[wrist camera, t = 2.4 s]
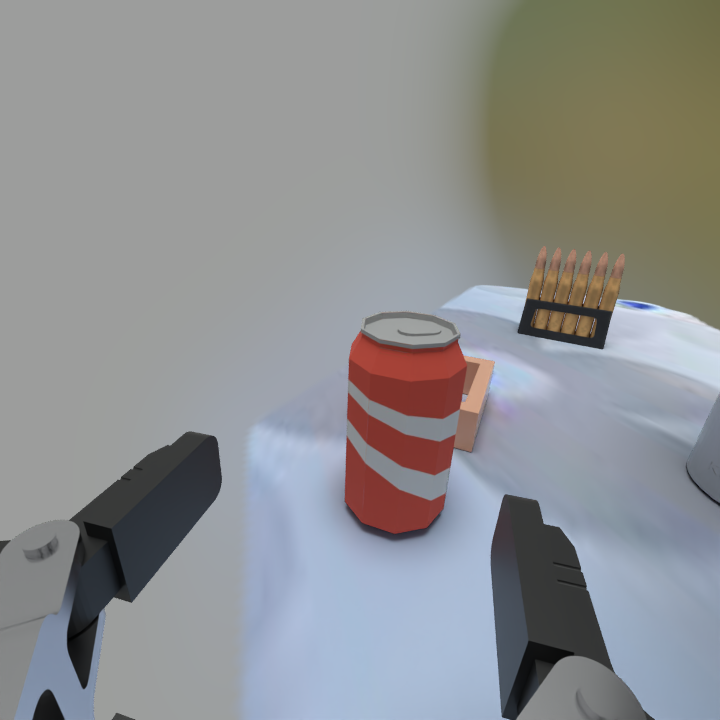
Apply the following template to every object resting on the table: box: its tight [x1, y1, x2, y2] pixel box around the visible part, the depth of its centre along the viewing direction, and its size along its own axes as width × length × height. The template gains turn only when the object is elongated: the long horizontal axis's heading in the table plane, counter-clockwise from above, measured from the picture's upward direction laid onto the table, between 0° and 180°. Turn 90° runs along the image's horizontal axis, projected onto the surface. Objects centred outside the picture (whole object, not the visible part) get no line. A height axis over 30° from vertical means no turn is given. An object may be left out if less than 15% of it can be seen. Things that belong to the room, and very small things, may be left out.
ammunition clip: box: [518, 246, 625, 349], centre depth 52 cm, size 11×2×12 cm, turn 61°
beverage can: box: [345, 311, 467, 534], centre depth 23 cm, size 6×6×12 cm
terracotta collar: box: [454, 356, 495, 452], centre depth 36 cm, size 10×10×4 cm
